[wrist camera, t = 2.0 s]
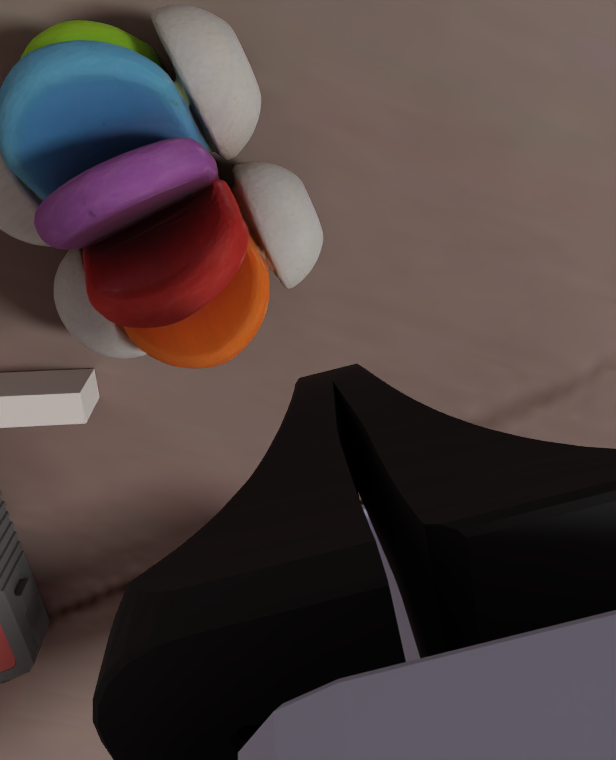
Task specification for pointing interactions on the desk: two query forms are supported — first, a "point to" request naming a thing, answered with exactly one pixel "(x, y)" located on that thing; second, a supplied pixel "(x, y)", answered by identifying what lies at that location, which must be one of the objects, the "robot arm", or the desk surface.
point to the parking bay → (47, 397)
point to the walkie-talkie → (18, 606)
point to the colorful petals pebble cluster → (150, 187)
